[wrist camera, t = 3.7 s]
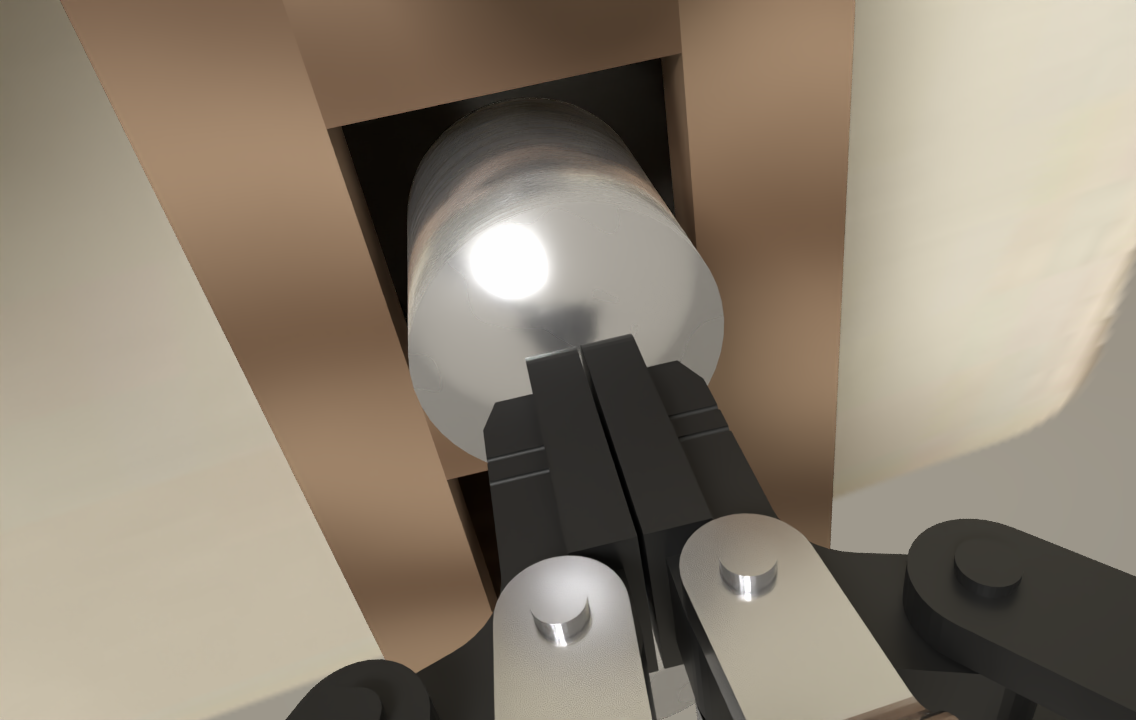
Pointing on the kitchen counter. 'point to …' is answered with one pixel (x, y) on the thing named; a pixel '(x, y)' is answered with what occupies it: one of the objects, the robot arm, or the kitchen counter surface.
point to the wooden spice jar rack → (359, 270)
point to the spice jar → (541, 260)
